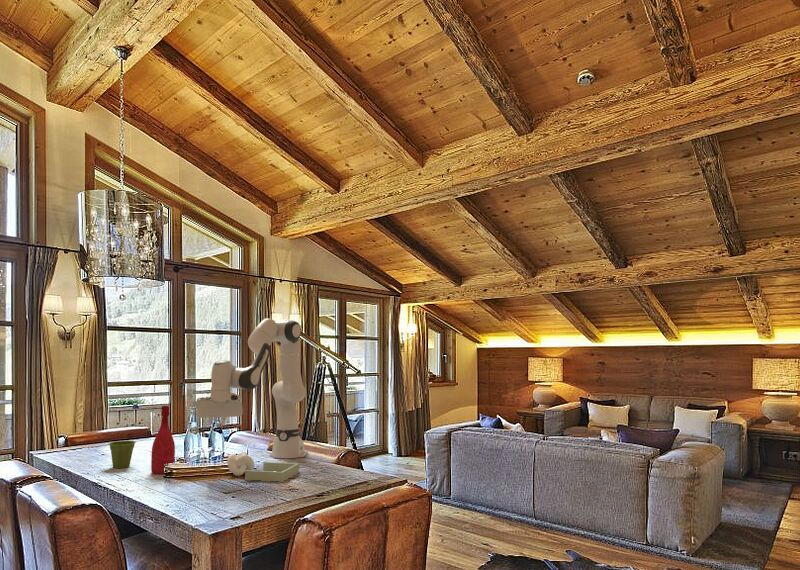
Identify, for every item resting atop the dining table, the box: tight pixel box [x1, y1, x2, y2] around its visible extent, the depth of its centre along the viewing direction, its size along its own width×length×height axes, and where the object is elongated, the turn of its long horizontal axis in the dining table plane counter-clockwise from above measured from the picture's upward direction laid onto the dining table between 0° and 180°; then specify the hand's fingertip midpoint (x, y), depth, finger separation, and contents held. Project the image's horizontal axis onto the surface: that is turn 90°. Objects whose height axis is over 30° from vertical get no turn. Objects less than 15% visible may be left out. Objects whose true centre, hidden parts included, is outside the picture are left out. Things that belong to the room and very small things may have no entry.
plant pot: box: [108, 440, 137, 469], centre depth 283 cm, size 12×12×11 cm
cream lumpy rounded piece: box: [226, 452, 255, 477], centre depth 268 cm, size 11×12×9 cm
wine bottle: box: [150, 404, 176, 475], centre depth 272 cm, size 10×10×30 cm
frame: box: [244, 461, 300, 483], centre depth 265 cm, size 20×17×4 cm
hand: (219, 427), depth 272 cm, fingers closed
